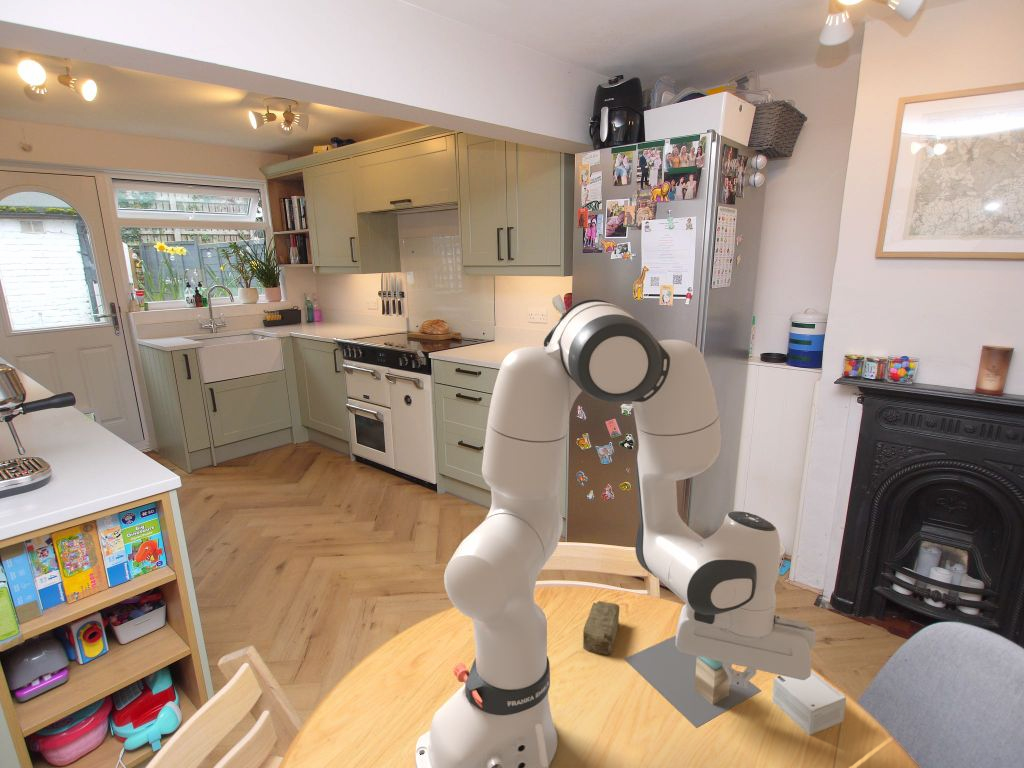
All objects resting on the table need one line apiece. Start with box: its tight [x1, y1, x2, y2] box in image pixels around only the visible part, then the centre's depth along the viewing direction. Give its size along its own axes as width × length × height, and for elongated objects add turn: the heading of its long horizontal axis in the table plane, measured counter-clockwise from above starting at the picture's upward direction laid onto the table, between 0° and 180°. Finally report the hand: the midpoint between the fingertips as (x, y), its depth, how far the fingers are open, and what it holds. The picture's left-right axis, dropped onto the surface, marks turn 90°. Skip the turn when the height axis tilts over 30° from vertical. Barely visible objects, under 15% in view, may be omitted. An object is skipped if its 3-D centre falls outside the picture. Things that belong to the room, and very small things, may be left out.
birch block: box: [695, 656, 730, 705], centre depth 92 cm, size 4×4×7 cm
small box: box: [771, 669, 847, 736], centre depth 89 cm, size 8×8×5 cm
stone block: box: [582, 600, 620, 656], centre depth 108 cm, size 6×12×5 cm, turn 160°
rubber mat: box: [623, 635, 762, 729], centre depth 97 cm, size 16×18×1 cm
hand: (737, 684), depth 88 cm, fingers closed
